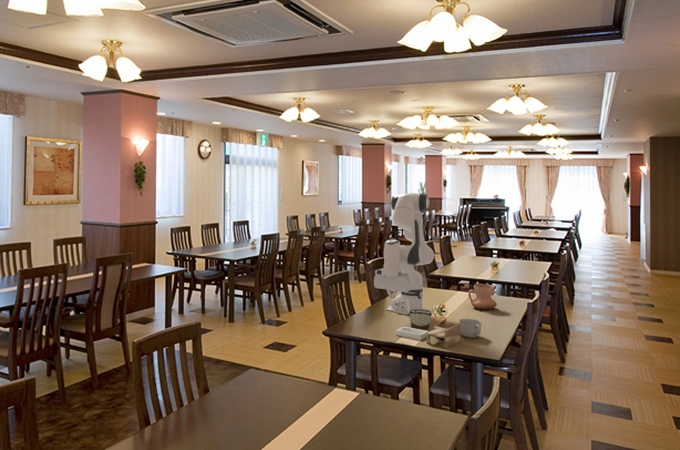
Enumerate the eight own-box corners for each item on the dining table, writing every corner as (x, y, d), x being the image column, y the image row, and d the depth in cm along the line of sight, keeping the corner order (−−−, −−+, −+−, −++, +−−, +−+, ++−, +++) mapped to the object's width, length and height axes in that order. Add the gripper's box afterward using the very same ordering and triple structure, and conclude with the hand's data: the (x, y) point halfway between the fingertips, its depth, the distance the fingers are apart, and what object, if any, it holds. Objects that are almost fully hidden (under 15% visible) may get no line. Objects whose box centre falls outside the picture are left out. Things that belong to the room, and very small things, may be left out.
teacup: (456, 333, 261) (456, 317, 261) (477, 332, 262) (477, 317, 262) (465, 341, 248) (465, 325, 247) (487, 341, 249) (487, 324, 248)
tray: (396, 335, 258) (396, 329, 258) (404, 332, 265) (404, 326, 264) (420, 340, 250) (420, 334, 250) (428, 337, 256) (428, 331, 256)
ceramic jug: (500, 307, 317) (500, 285, 317) (494, 312, 305) (495, 288, 304) (471, 305, 326) (471, 282, 326) (465, 309, 314) (465, 286, 313)
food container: (433, 328, 271) (434, 309, 270) (431, 331, 265) (432, 312, 264) (410, 326, 275) (410, 307, 274) (408, 329, 269) (408, 310, 268)
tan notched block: (421, 342, 246) (421, 325, 246) (434, 335, 257) (435, 319, 257) (447, 347, 238) (447, 330, 237) (460, 340, 249) (460, 324, 248)
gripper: (413, 272, 258) (412, 300, 259) (379, 269, 271) (378, 295, 272) (406, 274, 253) (406, 302, 254) (372, 270, 266) (372, 297, 267)
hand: (392, 298), depth 263 cm, fingers closed
